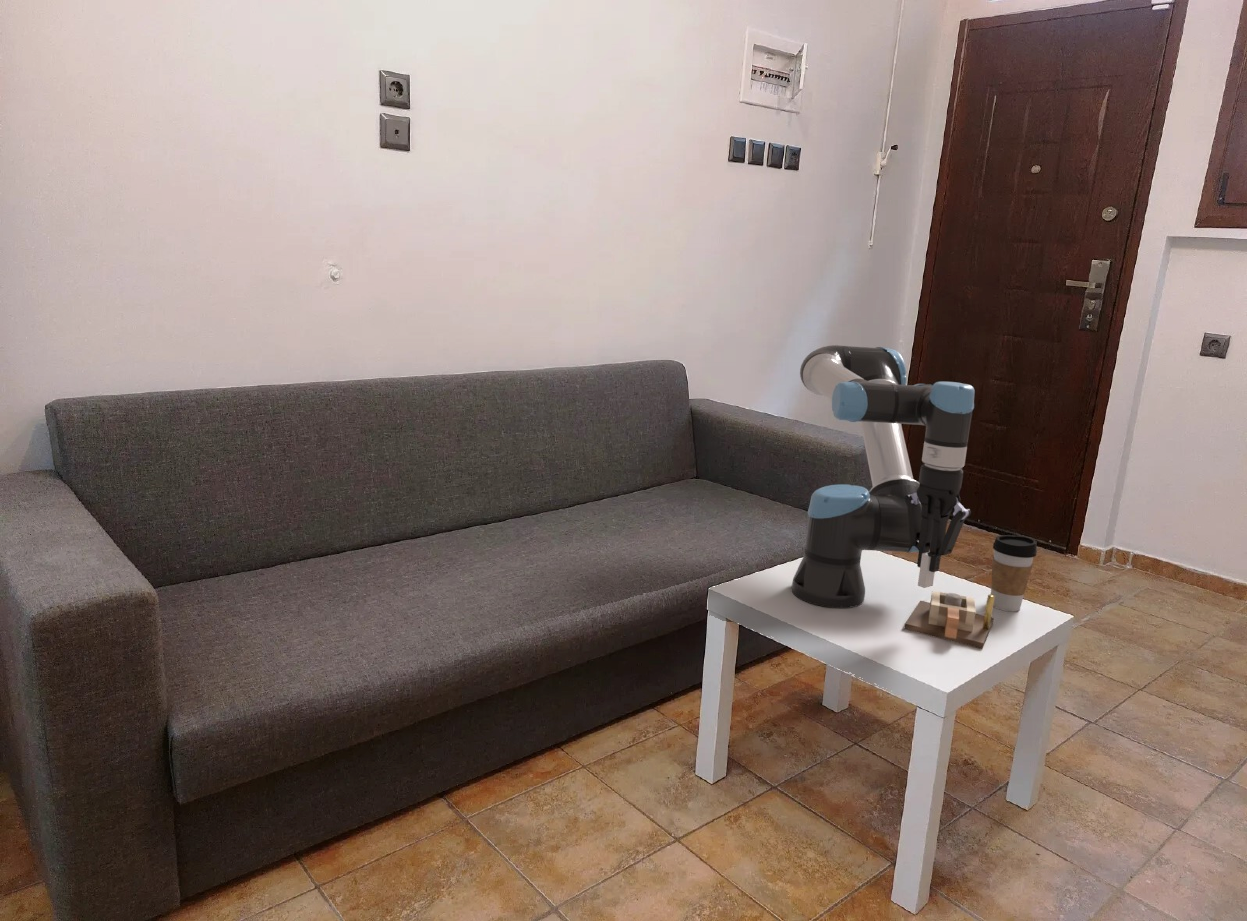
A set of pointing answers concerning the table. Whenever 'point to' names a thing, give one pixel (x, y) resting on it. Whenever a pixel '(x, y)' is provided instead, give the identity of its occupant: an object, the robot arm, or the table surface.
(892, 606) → the table surface
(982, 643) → the base
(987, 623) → the dowel
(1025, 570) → the coffee cup
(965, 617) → the hollow square frame
